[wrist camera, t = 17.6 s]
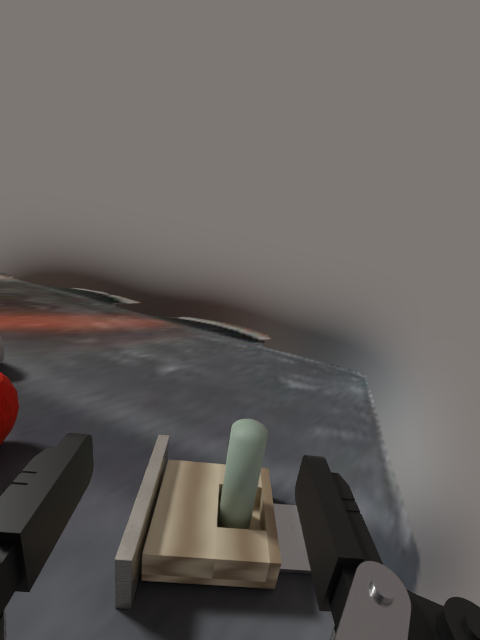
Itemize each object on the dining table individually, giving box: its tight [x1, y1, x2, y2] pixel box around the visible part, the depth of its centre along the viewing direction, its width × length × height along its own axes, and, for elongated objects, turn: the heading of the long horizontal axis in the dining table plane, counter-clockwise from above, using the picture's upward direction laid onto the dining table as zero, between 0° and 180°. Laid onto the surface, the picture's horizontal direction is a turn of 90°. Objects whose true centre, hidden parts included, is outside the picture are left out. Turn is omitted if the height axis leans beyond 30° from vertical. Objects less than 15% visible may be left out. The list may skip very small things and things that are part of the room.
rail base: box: [115, 435, 311, 609], centre depth 35 cm, size 25×16×7 cm, turn 91°
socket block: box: [142, 460, 281, 589], centre depth 35 cm, size 14×12×4 cm
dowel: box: [218, 419, 268, 530], centre depth 34 cm, size 4×4×14 cm
